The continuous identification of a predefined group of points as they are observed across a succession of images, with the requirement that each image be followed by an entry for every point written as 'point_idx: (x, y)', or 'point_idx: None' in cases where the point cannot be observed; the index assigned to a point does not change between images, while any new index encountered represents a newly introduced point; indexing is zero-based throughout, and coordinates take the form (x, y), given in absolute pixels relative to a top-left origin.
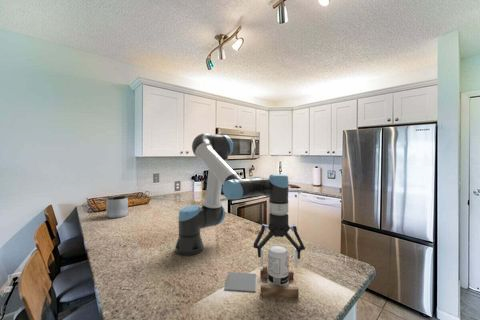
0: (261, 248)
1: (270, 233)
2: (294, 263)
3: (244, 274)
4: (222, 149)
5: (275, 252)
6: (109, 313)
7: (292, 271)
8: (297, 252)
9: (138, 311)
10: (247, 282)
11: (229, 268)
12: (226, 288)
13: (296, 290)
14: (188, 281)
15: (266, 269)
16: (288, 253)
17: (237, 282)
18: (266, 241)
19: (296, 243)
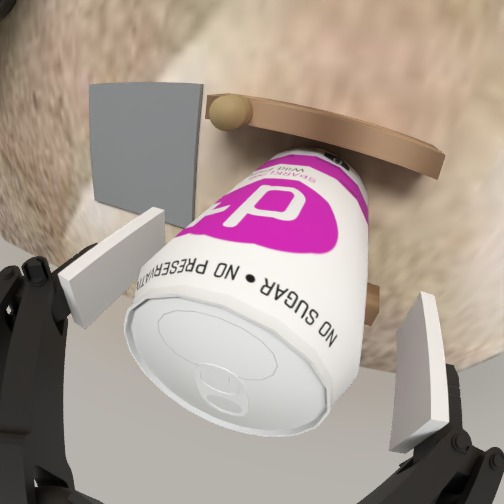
0: (68, 294)
1: (18, 462)
2: (420, 302)
3: (145, 96)
4: None
5: (184, 405)
6: (2, 236)
7: (436, 165)
8: (406, 446)
9: (18, 240)
10: (159, 165)
11: (94, 46)
12: (99, 197)
13: None
14: (25, 150)
15: (240, 126)
16: (338, 399)
17: (123, 162)
18: (55, 404)
19: (441, 489)
